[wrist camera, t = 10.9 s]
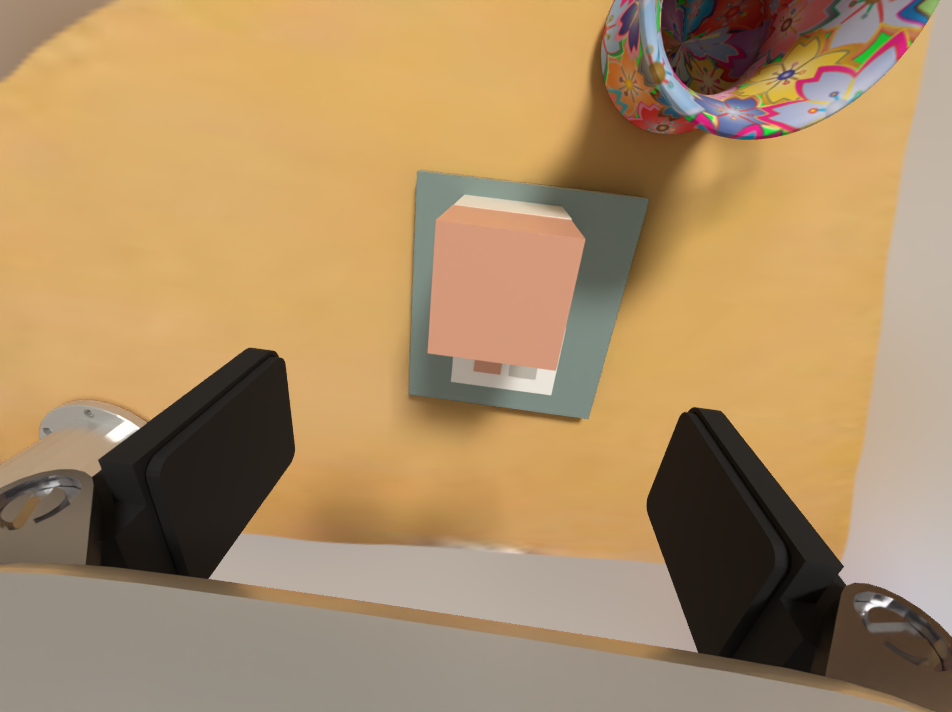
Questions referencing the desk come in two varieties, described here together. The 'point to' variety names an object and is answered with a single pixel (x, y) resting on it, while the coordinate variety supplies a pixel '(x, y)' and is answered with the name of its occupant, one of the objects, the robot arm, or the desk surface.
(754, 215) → the desk surface
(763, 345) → the desk surface
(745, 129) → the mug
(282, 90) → the desk surface
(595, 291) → the baseplate
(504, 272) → the terracotta brick
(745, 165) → the desk surface
